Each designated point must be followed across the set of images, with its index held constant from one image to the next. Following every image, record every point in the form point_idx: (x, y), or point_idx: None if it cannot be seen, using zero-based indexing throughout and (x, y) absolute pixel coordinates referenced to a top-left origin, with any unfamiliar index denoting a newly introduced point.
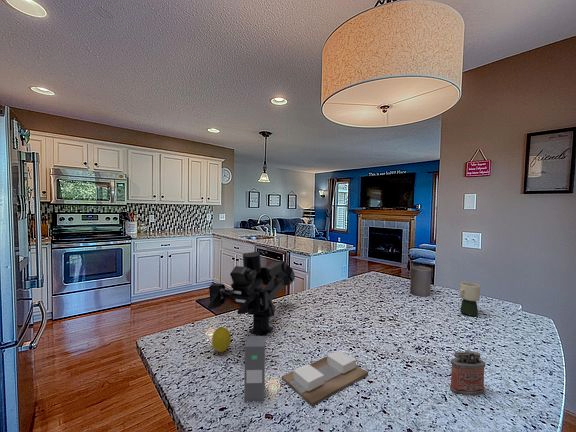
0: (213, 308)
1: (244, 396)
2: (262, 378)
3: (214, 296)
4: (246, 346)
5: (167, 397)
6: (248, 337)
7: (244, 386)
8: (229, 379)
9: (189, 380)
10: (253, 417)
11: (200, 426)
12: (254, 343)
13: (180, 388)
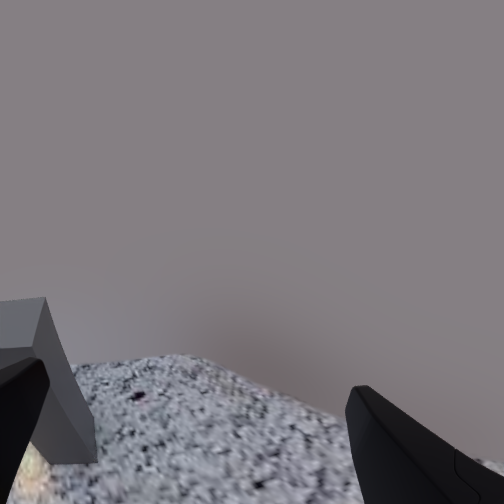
0: (356, 473)
1: (88, 408)
2: None
3: (467, 478)
4: (39, 298)
5: (288, 396)
6: (26, 340)
7: (80, 391)
8: (162, 491)
9: (287, 457)
10: None
11: (165, 357)
12: (13, 311)
13: (284, 426)
